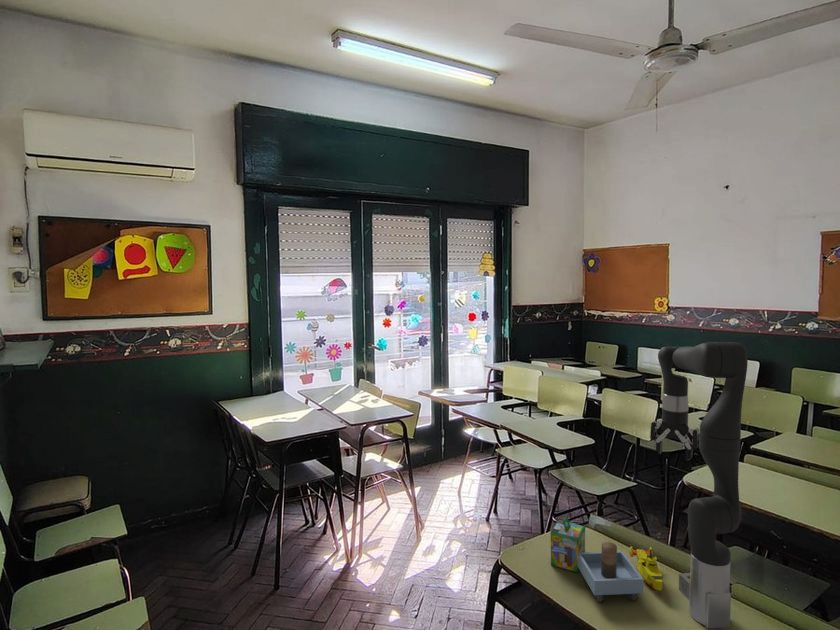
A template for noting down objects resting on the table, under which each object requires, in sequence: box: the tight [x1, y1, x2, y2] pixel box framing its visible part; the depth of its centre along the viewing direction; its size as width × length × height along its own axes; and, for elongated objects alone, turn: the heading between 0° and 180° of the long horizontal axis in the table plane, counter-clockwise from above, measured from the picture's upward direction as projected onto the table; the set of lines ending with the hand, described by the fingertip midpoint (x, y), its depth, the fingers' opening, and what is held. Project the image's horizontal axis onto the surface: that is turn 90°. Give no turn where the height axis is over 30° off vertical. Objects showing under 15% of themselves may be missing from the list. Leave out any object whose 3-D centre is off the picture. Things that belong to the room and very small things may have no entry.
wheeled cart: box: [577, 550, 645, 603], centre depth 147 cm, size 14×14×7 cm
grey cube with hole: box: [678, 572, 690, 601], centre depth 144 cm, size 5×5×5 cm
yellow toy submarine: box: [629, 546, 664, 591], centre depth 151 cm, size 6×18×10 cm, turn 174°
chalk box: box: [550, 514, 586, 574], centre depth 160 cm, size 9×9×15 cm
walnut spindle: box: [601, 541, 618, 579], centre depth 147 cm, size 4×4×9 cm
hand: (673, 456), depth 162 cm, fingers open, 8 cm apart
